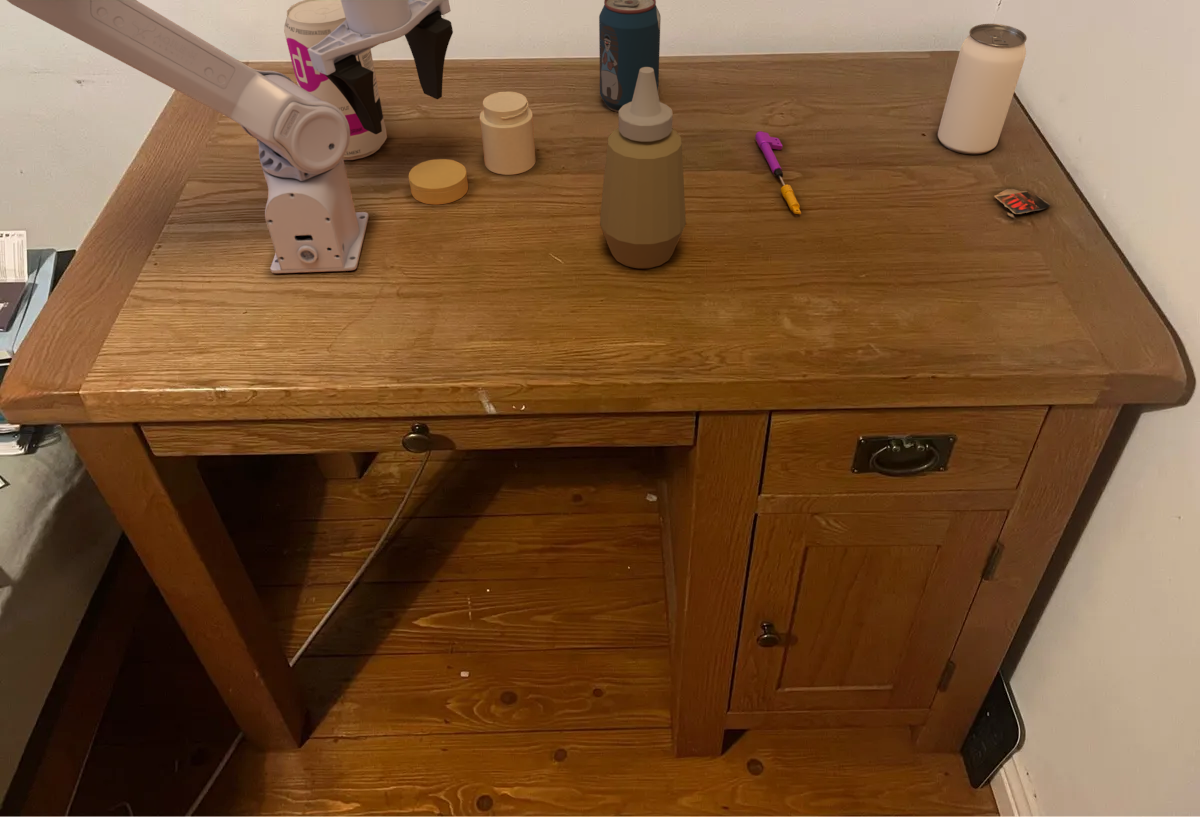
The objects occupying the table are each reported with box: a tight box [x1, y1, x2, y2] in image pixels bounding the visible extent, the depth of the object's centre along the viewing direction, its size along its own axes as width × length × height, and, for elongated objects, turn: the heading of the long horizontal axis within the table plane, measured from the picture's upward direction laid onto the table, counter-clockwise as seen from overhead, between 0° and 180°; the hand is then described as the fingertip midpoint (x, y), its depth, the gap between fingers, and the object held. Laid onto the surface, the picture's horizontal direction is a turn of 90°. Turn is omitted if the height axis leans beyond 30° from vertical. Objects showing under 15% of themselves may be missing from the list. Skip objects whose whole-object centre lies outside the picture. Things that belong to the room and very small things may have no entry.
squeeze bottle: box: [599, 67, 687, 269], centre depth 81 cm, size 8×8×18 cm
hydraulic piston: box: [754, 130, 802, 215], centre depth 97 cm, size 3×1×16 cm
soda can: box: [598, 0, 662, 114], centre depth 106 cm, size 7×7×12 cm
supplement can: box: [283, 0, 388, 161], centre depth 98 cm, size 8×8×15 cm
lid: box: [408, 158, 469, 206], centre depth 96 cm, size 6×6×2 cm
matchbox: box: [993, 188, 1051, 220], centre depth 93 cm, size 5×5×1 cm
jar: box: [479, 91, 537, 176], centre depth 98 cm, size 6×6×7 cm
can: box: [937, 23, 1028, 156], centre depth 98 cm, size 6×6×12 cm
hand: (403, 112), depth 89 cm, fingers open, 7 cm apart
